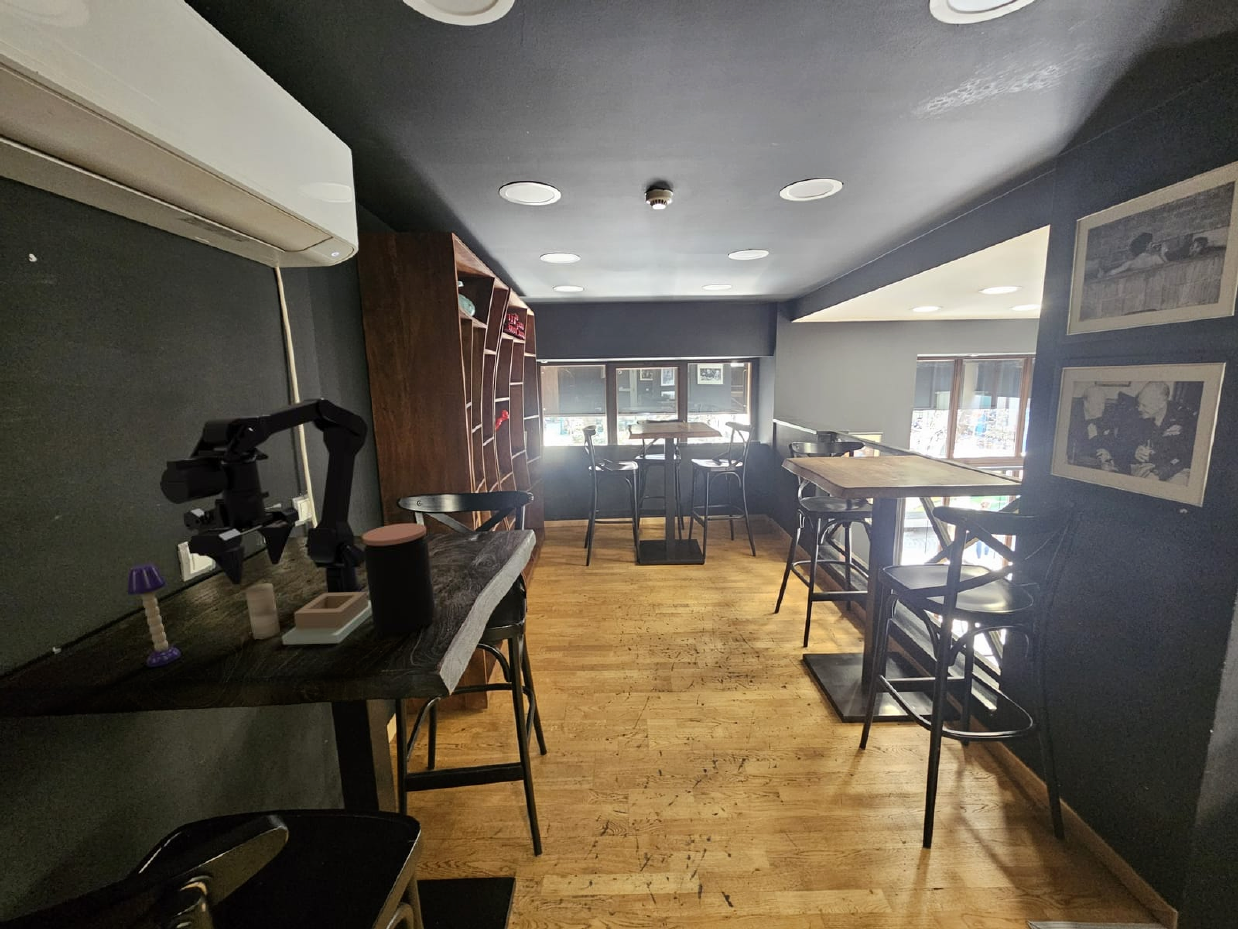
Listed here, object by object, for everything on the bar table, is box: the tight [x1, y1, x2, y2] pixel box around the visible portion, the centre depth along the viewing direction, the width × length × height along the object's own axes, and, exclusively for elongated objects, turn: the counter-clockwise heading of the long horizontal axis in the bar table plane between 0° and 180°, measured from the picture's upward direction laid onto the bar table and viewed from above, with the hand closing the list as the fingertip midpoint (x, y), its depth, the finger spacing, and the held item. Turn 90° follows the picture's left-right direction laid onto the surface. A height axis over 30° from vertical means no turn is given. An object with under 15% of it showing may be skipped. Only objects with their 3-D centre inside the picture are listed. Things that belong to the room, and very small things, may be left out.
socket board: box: [281, 591, 372, 645], centre depth 92 cm, size 14×10×4 cm
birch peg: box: [244, 582, 281, 640], centre depth 89 cm, size 4×4×9 cm
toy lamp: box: [126, 562, 181, 668], centre depth 81 cm, size 5×5×17 cm
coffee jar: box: [361, 522, 437, 637], centre depth 90 cm, size 11×11×18 cm
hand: (257, 573), depth 88 cm, fingers open, 9 cm apart
